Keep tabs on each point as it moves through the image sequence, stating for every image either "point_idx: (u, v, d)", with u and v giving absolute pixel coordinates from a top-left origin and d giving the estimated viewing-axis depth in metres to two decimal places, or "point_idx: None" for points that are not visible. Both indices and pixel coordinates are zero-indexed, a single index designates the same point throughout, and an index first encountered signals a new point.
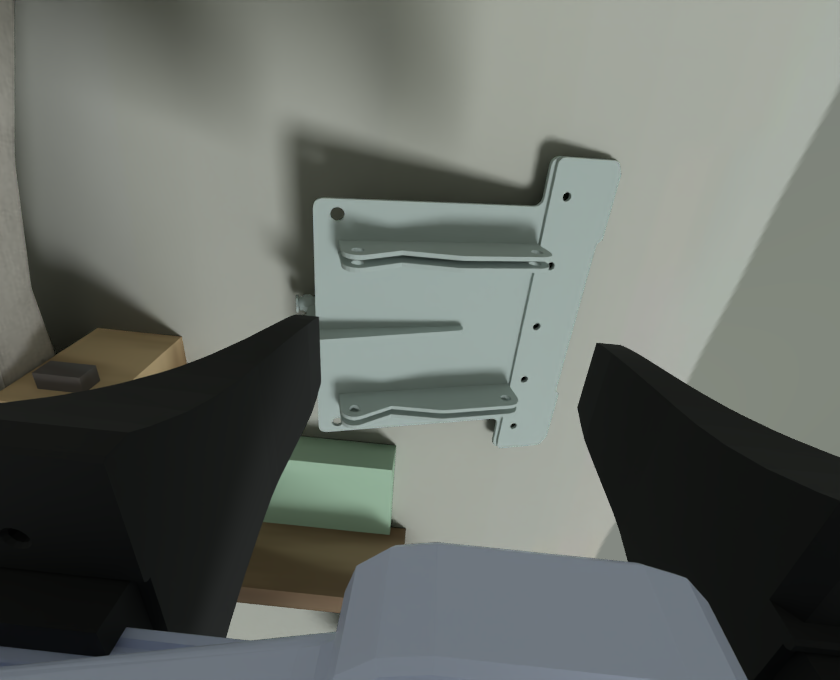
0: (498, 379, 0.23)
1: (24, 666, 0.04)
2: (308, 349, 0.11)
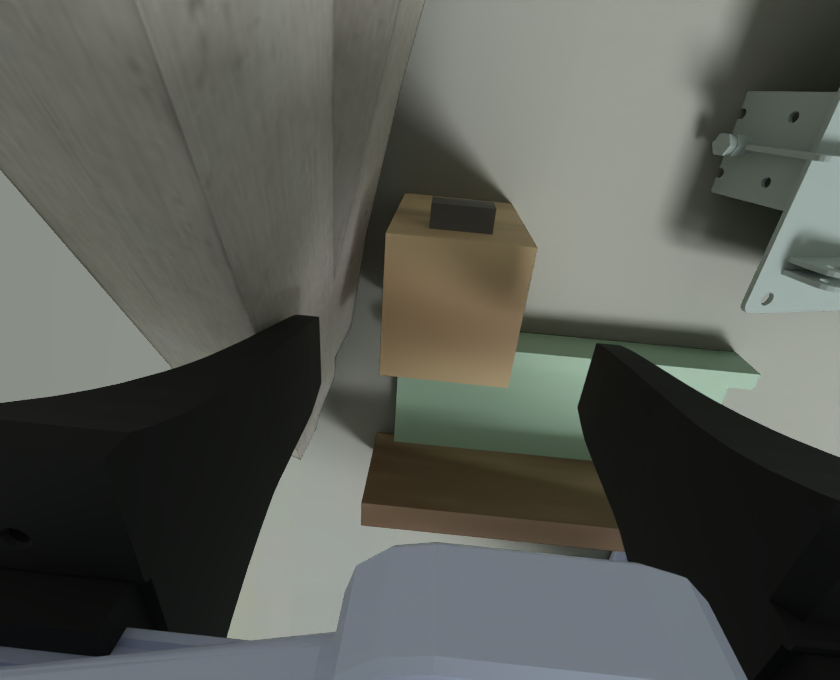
0: None
1: (24, 666, 0.04)
2: (308, 349, 0.11)
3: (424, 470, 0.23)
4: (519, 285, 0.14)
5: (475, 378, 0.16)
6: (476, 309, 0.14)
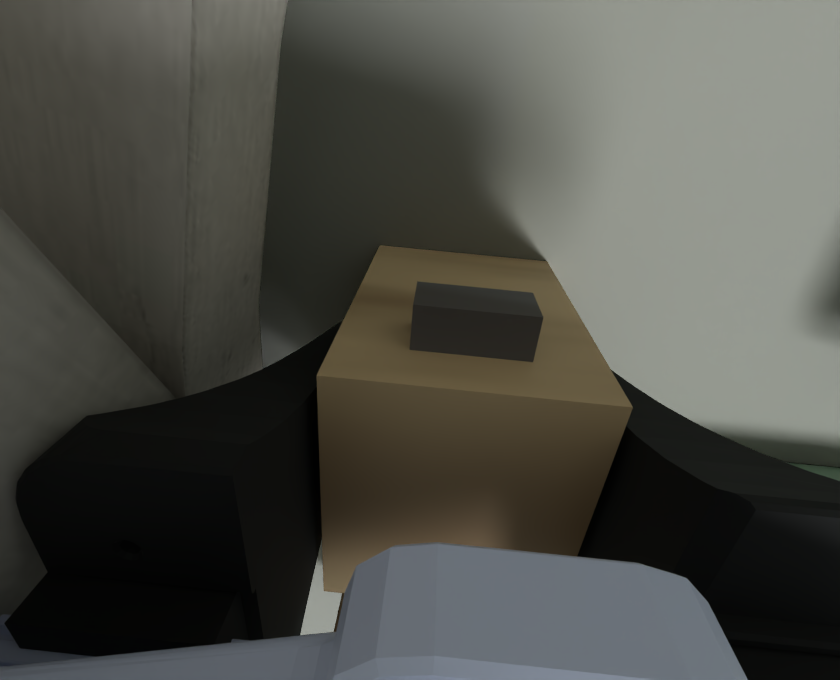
0: None
1: (24, 666, 0.04)
2: None
3: None
4: (589, 469, 0.07)
5: None
6: (501, 504, 0.07)
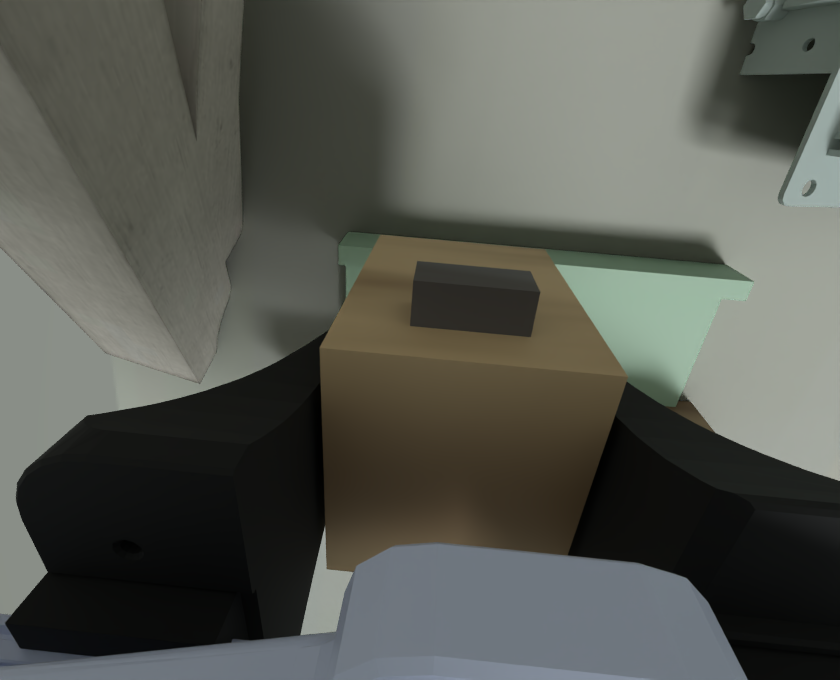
0: None
1: (24, 666, 0.04)
2: None
3: None
4: (586, 441, 0.07)
5: None
6: (500, 477, 0.08)
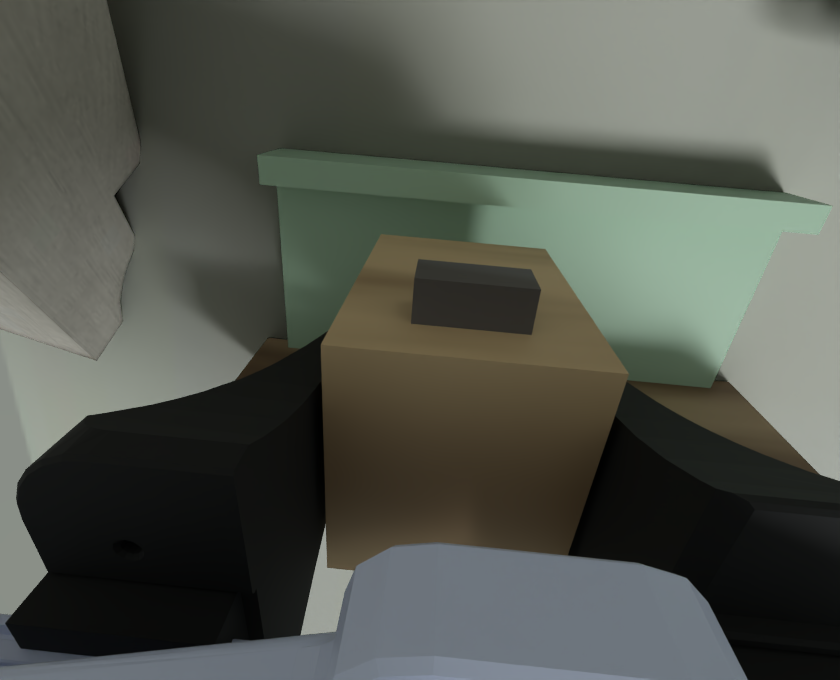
0: None
1: (24, 666, 0.04)
2: None
3: None
4: (587, 438, 0.07)
5: None
6: (501, 475, 0.08)
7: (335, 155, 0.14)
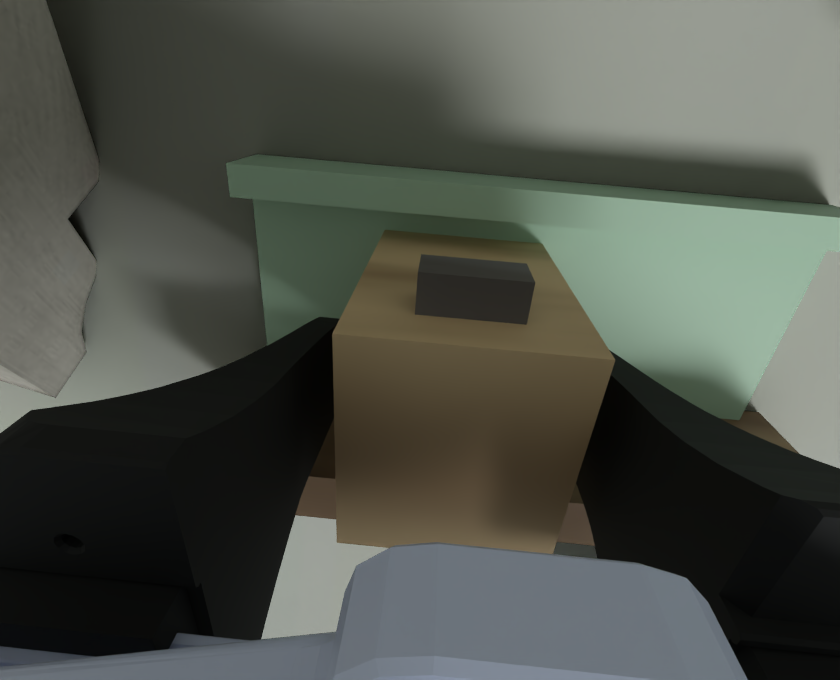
0: None
1: (24, 666, 0.04)
2: None
3: None
4: (577, 419, 0.08)
5: None
6: (498, 454, 0.08)
7: (318, 162, 0.12)
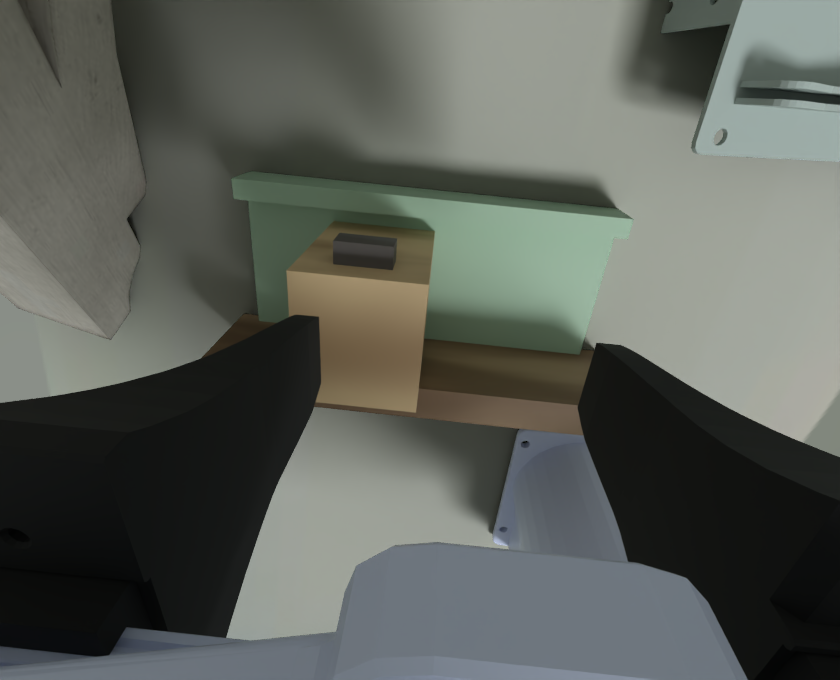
0: None
1: (25, 666, 0.04)
2: (308, 349, 0.11)
3: None
4: (415, 318, 0.15)
5: (384, 403, 0.16)
6: (378, 340, 0.15)
7: (289, 177, 0.19)
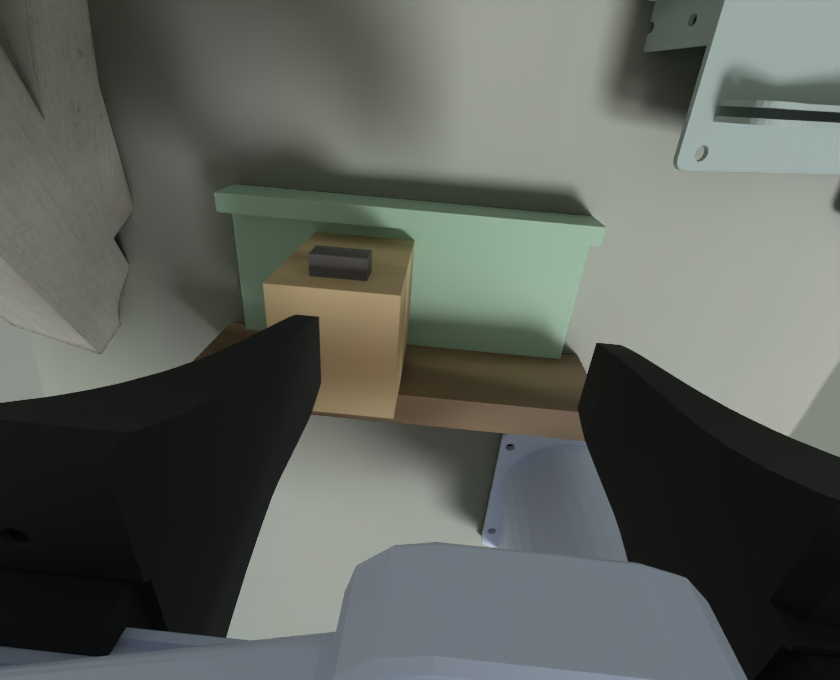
0: None
1: (24, 666, 0.04)
2: (308, 349, 0.11)
3: None
4: (389, 328, 0.15)
5: (362, 410, 0.17)
6: (353, 349, 0.16)
7: (271, 190, 0.20)
